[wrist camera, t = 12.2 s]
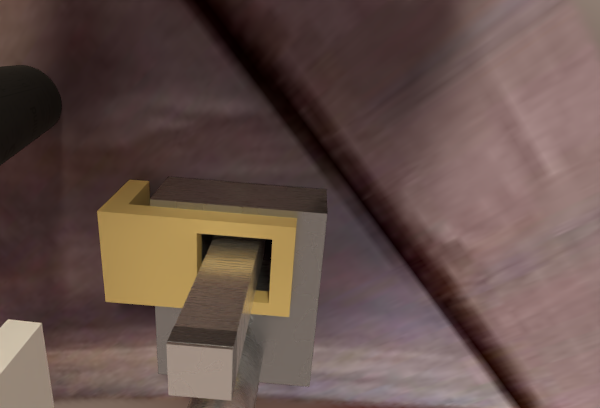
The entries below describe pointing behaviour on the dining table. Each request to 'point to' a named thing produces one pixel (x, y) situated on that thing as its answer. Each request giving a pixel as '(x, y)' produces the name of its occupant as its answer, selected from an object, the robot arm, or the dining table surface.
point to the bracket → (181, 250)
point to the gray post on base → (259, 282)
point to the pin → (215, 320)
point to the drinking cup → (25, 107)
